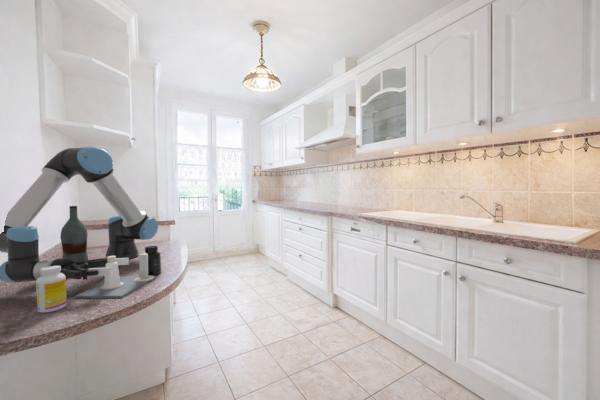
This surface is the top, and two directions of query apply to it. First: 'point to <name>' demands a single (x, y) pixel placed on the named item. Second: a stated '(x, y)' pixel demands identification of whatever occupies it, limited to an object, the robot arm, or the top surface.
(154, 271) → the supplement bottle
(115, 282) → the pepper shaker
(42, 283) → the supplement bottle
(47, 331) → the top surface
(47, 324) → the top surface
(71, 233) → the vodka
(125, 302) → the top surface
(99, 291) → the board
